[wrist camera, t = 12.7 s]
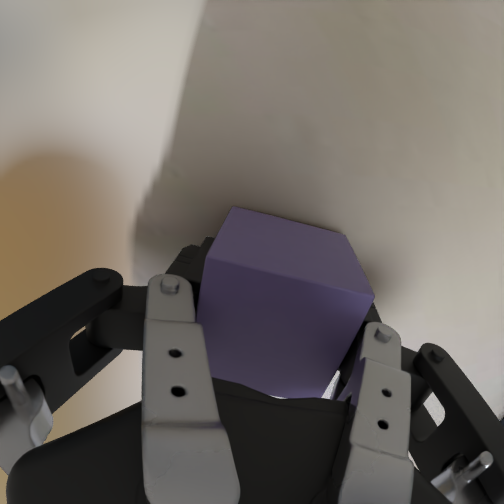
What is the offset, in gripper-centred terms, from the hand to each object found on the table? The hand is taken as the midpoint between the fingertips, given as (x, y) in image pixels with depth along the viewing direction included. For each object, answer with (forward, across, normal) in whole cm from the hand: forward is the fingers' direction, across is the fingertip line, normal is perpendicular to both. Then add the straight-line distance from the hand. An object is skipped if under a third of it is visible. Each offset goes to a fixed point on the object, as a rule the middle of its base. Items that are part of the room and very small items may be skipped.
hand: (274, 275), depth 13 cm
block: (0, 0, 0) cm, 0 cm away
